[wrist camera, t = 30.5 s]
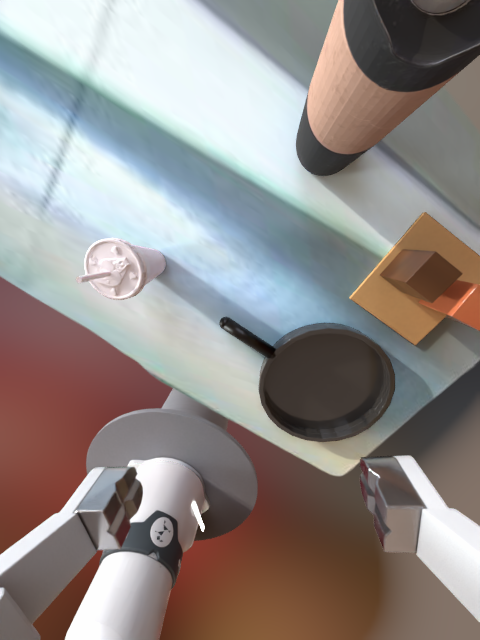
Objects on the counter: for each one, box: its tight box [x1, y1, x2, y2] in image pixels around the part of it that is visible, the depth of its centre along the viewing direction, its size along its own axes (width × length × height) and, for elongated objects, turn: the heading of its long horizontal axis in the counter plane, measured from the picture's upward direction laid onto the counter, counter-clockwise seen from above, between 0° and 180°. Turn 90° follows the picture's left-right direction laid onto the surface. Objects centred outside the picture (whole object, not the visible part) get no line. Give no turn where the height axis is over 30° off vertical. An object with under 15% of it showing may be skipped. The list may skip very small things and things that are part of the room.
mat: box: [349, 212, 480, 345], centre depth 31 cm, size 13×12×1 cm
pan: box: [259, 323, 395, 442], centre depth 36 cm, size 19×19×2 cm
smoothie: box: [76, 238, 166, 300], centre depth 27 cm, size 6×6×14 cm
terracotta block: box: [418, 280, 480, 331], centre depth 29 cm, size 4×4×6 cm
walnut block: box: [380, 249, 463, 303], centre depth 28 cm, size 4×4×6 cm
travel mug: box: [296, 0, 480, 176], centre depth 18 cm, size 8×8×20 cm
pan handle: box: [220, 317, 276, 359], centre depth 34 cm, size 2×10×2 cm, turn 56°
